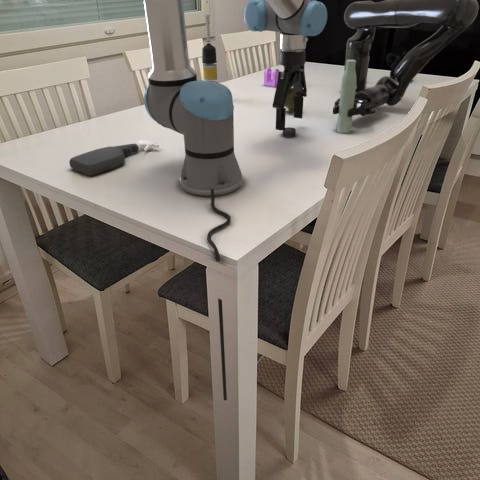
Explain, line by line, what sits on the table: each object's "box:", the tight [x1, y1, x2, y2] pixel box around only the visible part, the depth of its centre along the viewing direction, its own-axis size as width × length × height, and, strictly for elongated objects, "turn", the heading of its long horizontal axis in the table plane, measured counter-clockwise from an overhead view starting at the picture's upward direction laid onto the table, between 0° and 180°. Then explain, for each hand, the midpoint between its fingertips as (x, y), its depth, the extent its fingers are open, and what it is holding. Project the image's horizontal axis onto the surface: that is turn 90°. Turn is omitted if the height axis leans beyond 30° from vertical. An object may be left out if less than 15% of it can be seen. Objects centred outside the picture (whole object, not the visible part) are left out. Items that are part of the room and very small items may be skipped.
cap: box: [282, 127, 297, 138], centre depth 139 cm, size 4×4×2 cm
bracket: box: [263, 67, 280, 88], centre depth 197 cm, size 13×6×7 cm, turn 143°
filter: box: [201, 14, 219, 83], centre depth 171 cm, size 6×6×30 cm
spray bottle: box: [68, 139, 160, 177], centre depth 124 cm, size 3×11×24 cm
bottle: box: [336, 60, 357, 134], centre depth 137 cm, size 4×4×21 cm
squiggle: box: [385, 51, 409, 82], centre depth 198 cm, size 11×10×15 cm
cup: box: [284, 87, 297, 114], centre depth 159 cm, size 8×7×8 cm
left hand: (289, 123), depth 138 cm, fingers open, 13 cm apart
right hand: (341, 112), depth 137 cm, fingers closed on bottle, 4 cm apart
